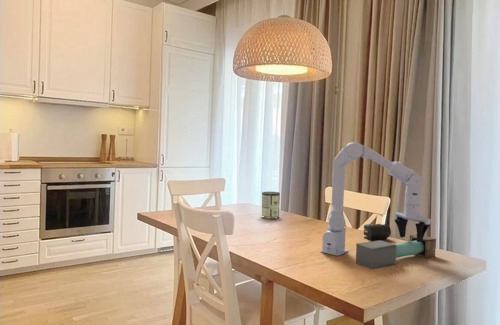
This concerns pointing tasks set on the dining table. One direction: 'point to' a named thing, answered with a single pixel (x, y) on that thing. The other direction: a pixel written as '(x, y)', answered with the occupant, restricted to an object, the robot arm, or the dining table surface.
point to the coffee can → (270, 204)
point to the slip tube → (409, 248)
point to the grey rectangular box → (375, 254)
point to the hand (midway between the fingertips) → (410, 239)
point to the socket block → (426, 246)
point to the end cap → (377, 231)
